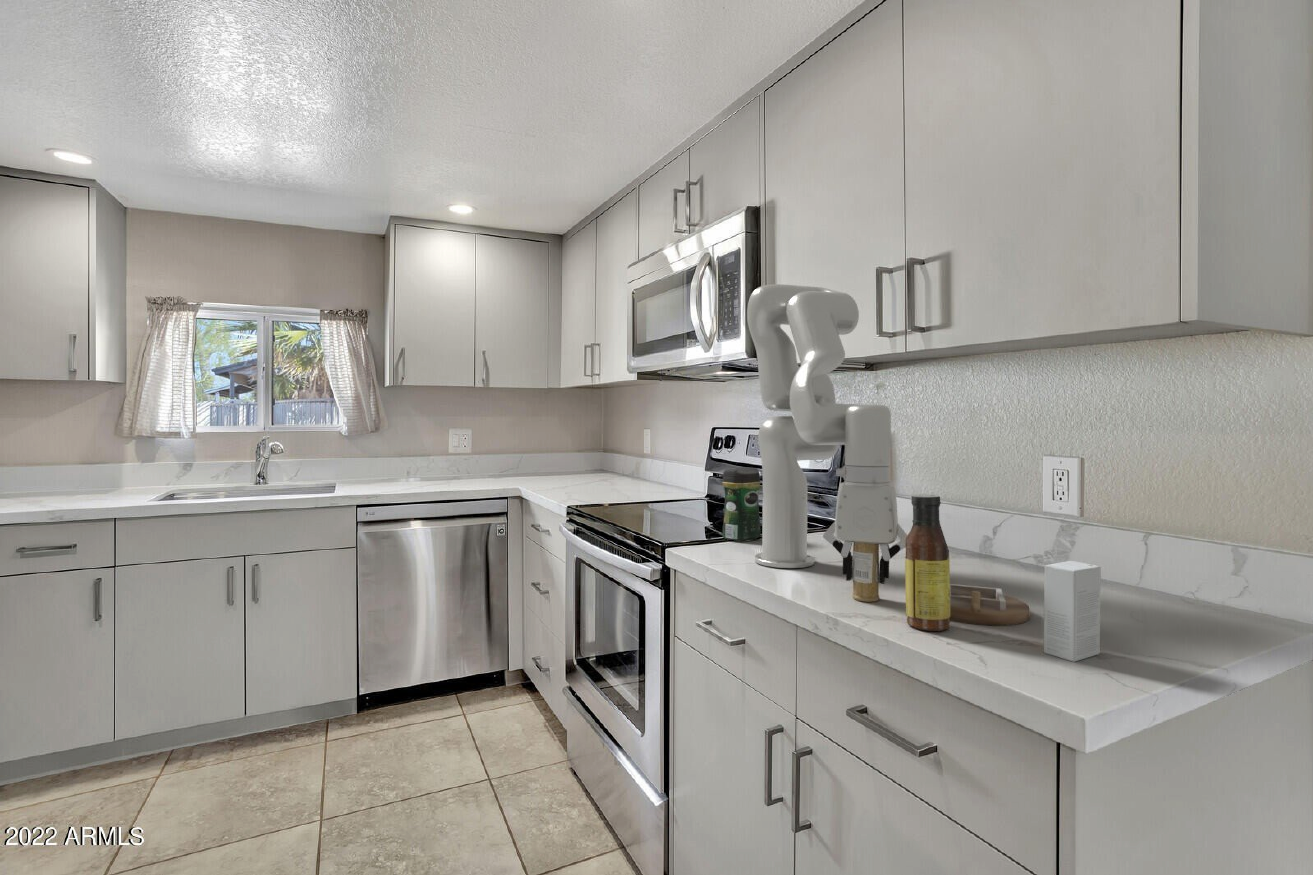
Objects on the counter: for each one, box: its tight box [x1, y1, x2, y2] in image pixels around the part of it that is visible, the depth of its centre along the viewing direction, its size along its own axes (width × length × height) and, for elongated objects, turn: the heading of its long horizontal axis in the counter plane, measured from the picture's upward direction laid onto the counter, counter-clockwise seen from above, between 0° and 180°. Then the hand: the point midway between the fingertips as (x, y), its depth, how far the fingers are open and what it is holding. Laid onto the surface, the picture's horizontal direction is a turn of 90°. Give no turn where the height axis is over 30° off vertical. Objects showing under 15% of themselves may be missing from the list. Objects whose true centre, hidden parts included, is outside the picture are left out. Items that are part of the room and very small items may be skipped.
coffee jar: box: [722, 466, 762, 542], centre depth 172 cm, size 10×8×19 cm
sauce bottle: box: [904, 493, 951, 632], centre depth 101 cm, size 7×6×20 cm
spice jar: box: [852, 542, 880, 603], centre depth 116 cm, size 5×5×13 cm
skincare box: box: [1043, 560, 1102, 663], centre depth 89 cm, size 6×4×12 cm
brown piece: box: [950, 583, 1031, 627], centre depth 109 cm, size 16×16×4 cm
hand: (865, 579), depth 116 cm, fingers open, 4 cm apart
